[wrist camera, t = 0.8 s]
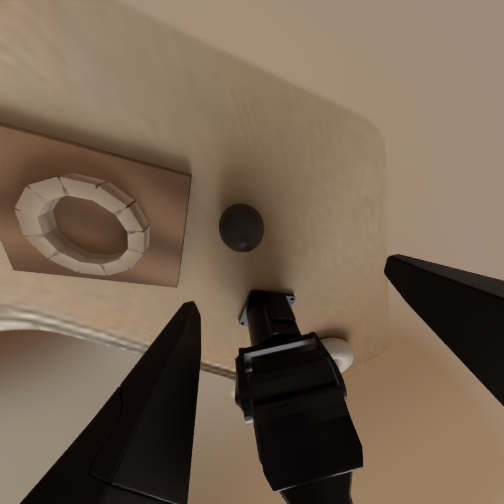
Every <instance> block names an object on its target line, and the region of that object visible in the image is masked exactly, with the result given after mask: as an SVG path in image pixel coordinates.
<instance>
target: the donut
mask: <svg viewBox="0 0 504 504" xmlns="http://www.w3.org/2000/svg"><path fill="white" fill-rule="evenodd" d="M320 341H321V342H322V343H323V345H324V346H325V348H326V349H327V351H328V352H329V354H330V355H331V356H332V358H333V359H334V361H335V363H336V364H337V366H338V368H339V370H340V373H342V372H343V371H344V370H346V369H347V368H348V367H349V366H350V365H351V363H352V361H353V358H354V355H353V350H352V347H351V346H350V345H349V344H348V343H347V342H346V341H344V340H342V339H339V338H325V339H321V340H320Z"/></svg>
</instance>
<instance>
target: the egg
mask: <svg viewBox="0 0 504 504" xmlns="http://www.w3.org/2000/svg"><path fill="white" fill-rule="evenodd" d="M219 232H220V236H221V238H222V240H223V242H224V243H225V244H226V245H227V246H228V247H229V248H231V249H232V250H234V251H237V252H248V251H251V250H253V249H254V248H256V247H257V246H258V245H259V243H260V242H261V240H262V237H263V234H264V224H263V220H262V218H261V216H260V214H259V213H258V212H257V211H256V210H255V209H254V208H253V207H251V206H249V205H246V204H235V205H232V206H230V207H229V208H227V209H226V210H225V211H224V213H223V214H222V216H221V218H220V221H219Z"/></svg>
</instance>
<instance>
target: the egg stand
mask: <svg viewBox="0 0 504 504" xmlns="http://www.w3.org/2000/svg"><path fill="white" fill-rule="evenodd" d="M191 178H192V175H190V174H186V173H183V172H179V171H175V170H172V169H168V168H164V167H161V166H157V165H153V164H150V163H146V162H142V161H139V160H135V159H131V158H128V157H124V156H120V155H116V154H113V153H109V152H105V151H102V150H98V149H94V148H91V147H87V146H83V145H80V144H76V143H72V142H69V141H65V140H61V139H58V138H54V137H50V136H47V135H43V134H39V133H36V132H32V131H28V130H24V129H21V128H17V127H13V126H10V125H6V124H2V123H0V239H1V241H2V244H3V246H4V249H5V251H6V253H7V256H8V258H9V261H10V263H11V266H12V268H13V270H17V271H26V272H36V273H45V274H54V275H64V276H73V277H83V278H92V279H101V280H111V281H120V282H129V283H139V284H148V285H157V286H167V287H176V288H177V285H178V282H179V274H180V266H181V258H182V250H183V242H184V234H185V226H186V218H187V210H188V202H189V194H190V186H191Z"/></svg>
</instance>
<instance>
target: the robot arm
mask: <svg viewBox="0 0 504 504" xmlns="http://www.w3.org/2000/svg"><path fill="white" fill-rule="evenodd" d="M384 273H385V275H386V277H387V278H388V279H389V280H390V282H391V283H392V284H393V286H394V287H395V288H396V289H397V291H398V292H399V293H400V294H401V296H402V297H403V298H404V300H405V301H406V302H407V303H408V304H409V305H410V307H411V308H412V309H413V310H414V311H415V312H416V313H417V314H418V315H419V316H420V317H421V318H422V319H423V320H424V322H425V323H426V324H427V325H428V326H429V327H430V328H431V329H432V330H433V331H434V332H435V333H436V334H437V336H438V337H439V338H440V339H441V340H442V341H443V342H444V343H445V344H446V345H447V346H448V347H449V348H450V349H451V351H452V352H453V353H454V354H455V355H456V356H457V357H458V358H459V359H460V360H461V361H462V362H463V363H464V364H465V366H466V367H467V368H468V369H469V370H470V371H471V372H472V373H473V374H474V375H475V376H476V377H477V378H478V379H479V381H480V382H481V383H482V384H483V385H484V386H485V387H486V388H487V389H488V390H489V391H490V392H491V393H492V394H493V395H494V396H495V398H496V399H497V400H498V401H499V402H500V403H501V404H502V405H503V406H504V281H502V280H499V279H495V278H491V277H487V276H483V275H479V274H475V273H471V272H467V271H463V270H459V269H455V268H451V267H448V266H444V265H440V264H436V263H432V262H428V261H424V260H420V259H416V258H412V257H408V256H404V255H400V254H396V255H392V256H389V257H388V258H387V261H386V265H385V269H384ZM295 299H296V298H295V296H294V295H293V294H285V293H276V292H267V291H259V290H252V291H250V293H249V296H248V298H247V301H246V304H245V306H244V309H243V312H242V314H241V317H240V320H239V324H240V325H242V326H248V327H249V333H250V340H251V347H247V348H239V356H237V358H236V359H235V362H236V388H235V402H236V404H237V405H238V406H239V407H240V408H241V409H242V413H243V415H244V418H245V422H246V424H247V425H249V424H253V423H254V429H255V436H256V442H257V449H258V455H259V460H260V462H261V464H262V466H263V472H264V475H265V477H266V479H267V480H268V482H269V484H270V486H271V488H272V490H273V491H274V492H277V491H279V492H280V494H281V495H282V497H283V498H284V500H285V501H286V503H287V504H353V502H352V499H351V495H350V492H351V482H352V472H353V471H354V470H357V469H361V468H362V467H363V453H362V445H361V442H360V440H359V437H358V435H357V432H356V430H355V427H354V425H353V422H352V420H351V417H350V415H349V411H348V409H347V405H346V402H345V400H346V398H347V393H346V387H345V384H344V380H343V378H342V375H341V373H340V370H339V368H338V366H337V364H336V363H335V361H334V359H333V358H332V356H331V355H330V354H329V352H328V351H327V349H326V348H325V346H324V345H323V343H322V342H321V341H320V339H319V338H318V336H317V335H316V333H315V332H310V333H309V334H305V335H301V333H300V331H299V328H298V326H297V324H296V321H295V320H296V318H295V316H294V314H293V311H292V309H291V306H292V304H293V303H294V301H295ZM200 361H201V317H200V313H199V311H198V308H197V306H196V304H195V302H194V301H190V302H186V303H184V304H183V305H182V306H181V307H180V308H179V310H178V311H177V312H176V314H175V315H174V316H173V317H172V319H171V320H170V321H169V323H168V324H167V325H166V326H165V328H164V329H163V330H162V332H161V333H160V334H159V335H158V337H157V338H156V339H155V341H154V342H153V343H152V344H151V346H150V347H149V348H148V350H147V351H146V352H145V353H144V355H143V356H142V358H141V359H140V360H139V361H138V363H137V364H136V365H135V366H134V368H133V369H132V370H131V372H130V373H129V374H128V375H127V377H126V378H125V379H124V381H123V382H122V383H121V385H120V387H118V388H117V389H116V391H115V392H114V393H113V394H112V396H111V397H110V398H109V400H108V401H107V402H106V403H105V405H104V406H103V407H102V409H101V410H100V411H99V412H98V413H97V415H96V416H95V417H94V418H93V420H92V421H91V422H90V423H89V424H88V426H87V427H86V428H85V429H84V430H83V431H82V433H81V434H80V435H79V436H78V437H77V438H76V440H75V441H74V442H73V443H72V444H71V445H70V447H69V448H68V449H67V450H66V451H65V452H64V453H63V455H62V456H61V457H60V458H59V459H58V460H57V462H56V463H55V464H54V465H53V466H52V467H51V468H50V469H49V471H48V472H47V473H46V474H45V475H44V476H43V478H42V479H41V480H40V481H39V483H38V484H37V485H36V486H35V487H34V488H33V489H32V490H31V491H30V492H29V494H28V495H27V496H26V497H25V498H24V499H23V501H22V502H21V503H20V504H187V501H188V491H189V480H190V469H191V458H192V447H193V436H194V426H195V415H196V404H197V394H198V383H199V372H200Z"/></svg>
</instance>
